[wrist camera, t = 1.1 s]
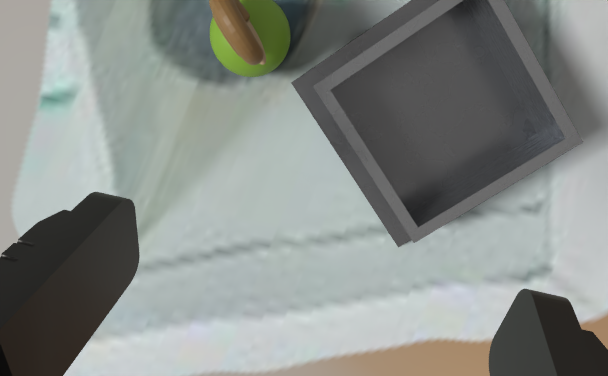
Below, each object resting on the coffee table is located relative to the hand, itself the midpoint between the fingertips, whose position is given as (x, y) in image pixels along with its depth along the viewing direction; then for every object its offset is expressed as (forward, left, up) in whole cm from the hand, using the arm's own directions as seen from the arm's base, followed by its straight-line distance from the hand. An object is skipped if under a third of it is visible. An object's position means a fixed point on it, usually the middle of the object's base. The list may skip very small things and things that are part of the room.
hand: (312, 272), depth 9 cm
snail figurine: (-9, 0, -26) cm, 28 cm away
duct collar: (+3, +8, -26) cm, 27 cm away
